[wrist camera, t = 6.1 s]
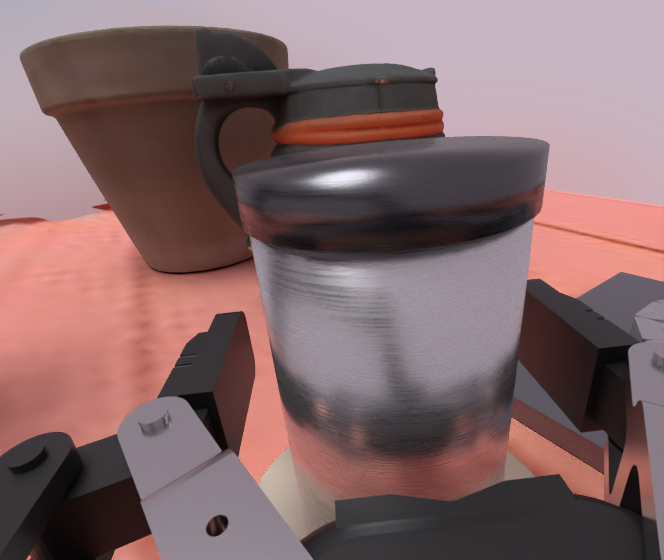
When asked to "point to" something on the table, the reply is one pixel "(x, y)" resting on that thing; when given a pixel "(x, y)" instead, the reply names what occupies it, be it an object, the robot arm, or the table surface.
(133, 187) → the plant pot
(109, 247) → the table surface
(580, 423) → the robot arm
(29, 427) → the table surface
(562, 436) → the hub plate
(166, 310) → the table surface
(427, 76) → the beer stein
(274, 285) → the glass jar with lid
